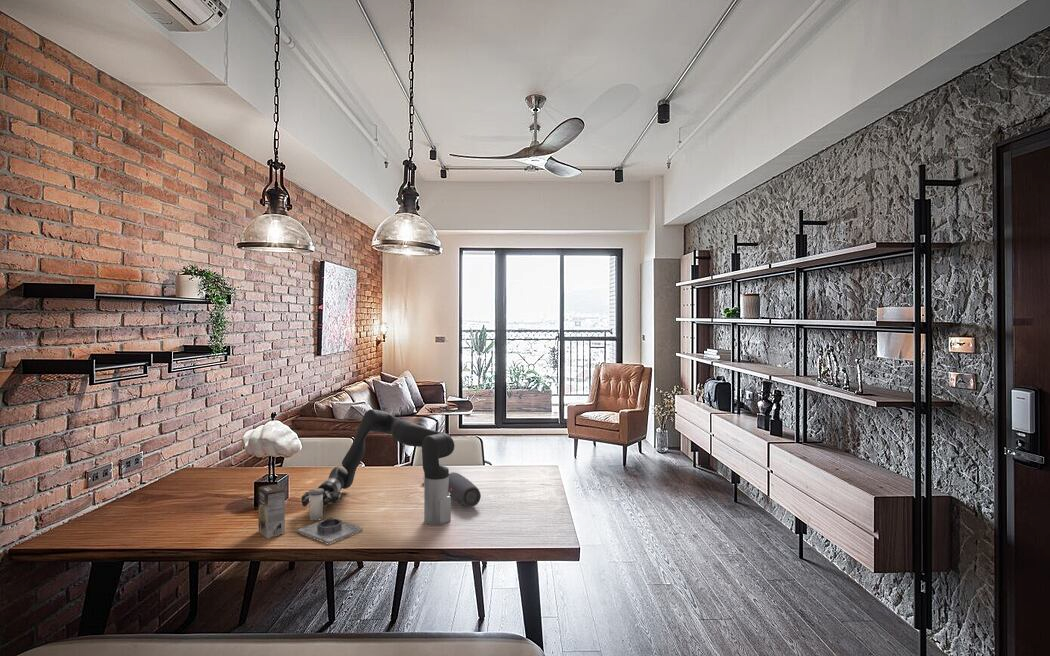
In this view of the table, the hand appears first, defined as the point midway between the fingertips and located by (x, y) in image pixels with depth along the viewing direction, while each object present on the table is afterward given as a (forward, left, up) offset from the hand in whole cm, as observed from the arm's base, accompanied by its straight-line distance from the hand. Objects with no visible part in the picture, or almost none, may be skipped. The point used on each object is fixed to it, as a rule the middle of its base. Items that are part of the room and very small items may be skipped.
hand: (314, 503), depth 199 cm
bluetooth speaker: (-33, -48, -7) cm, 58 cm away
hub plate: (-14, +3, -7) cm, 16 cm away
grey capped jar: (+1, -2, -7) cm, 7 cm away
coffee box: (+3, +15, -7) cm, 17 cm away
